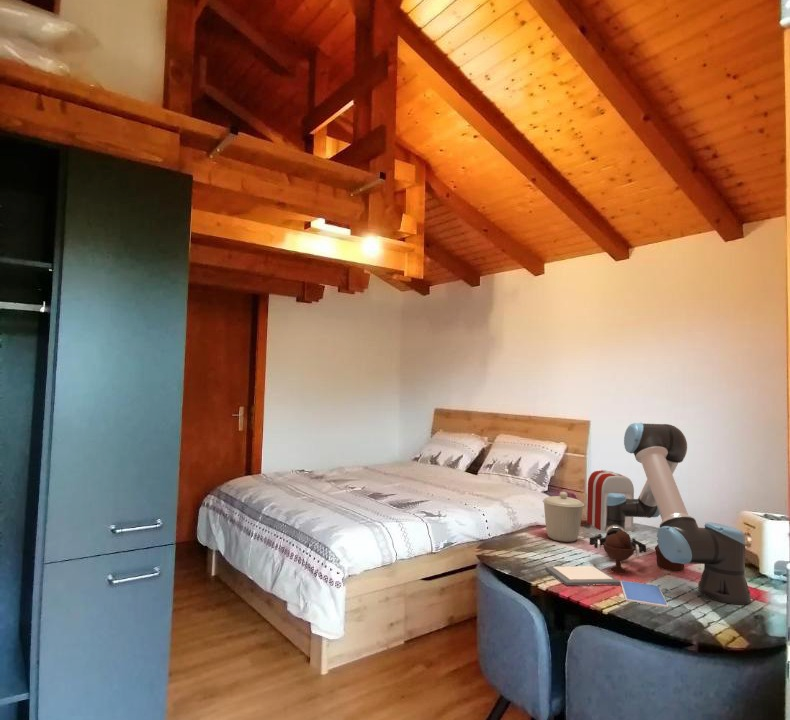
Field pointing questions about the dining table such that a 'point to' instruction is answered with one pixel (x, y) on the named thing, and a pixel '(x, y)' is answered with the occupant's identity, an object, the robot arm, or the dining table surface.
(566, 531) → the canister
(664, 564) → the muffin
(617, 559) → the ice cream bowl
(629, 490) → the striped arched panel rack
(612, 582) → the mat
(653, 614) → the dining table surface
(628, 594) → the tablet computer
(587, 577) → the sheet
